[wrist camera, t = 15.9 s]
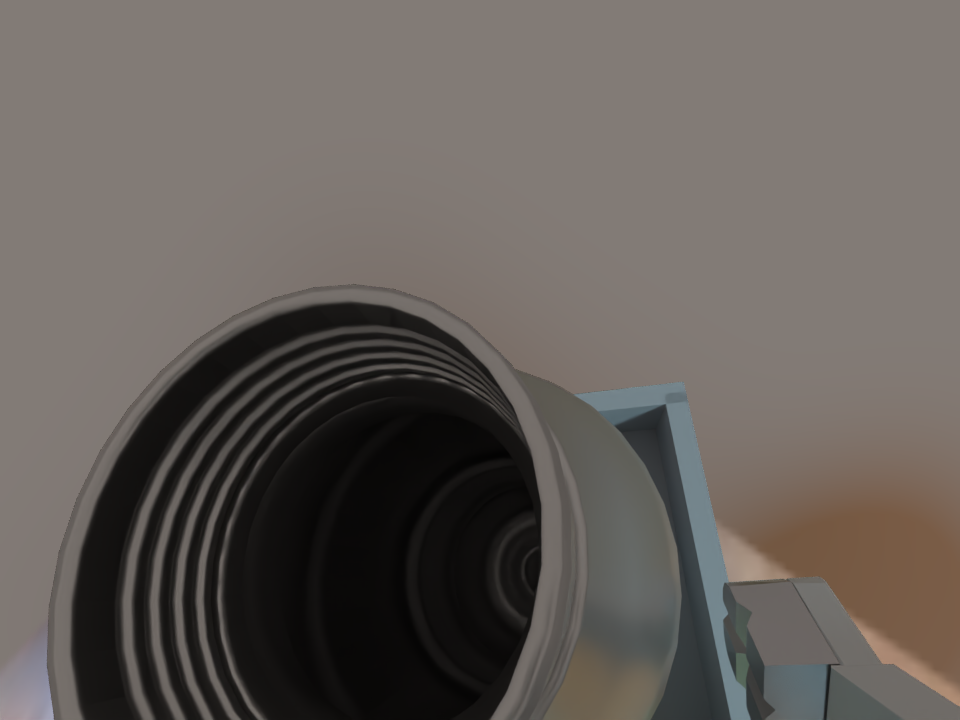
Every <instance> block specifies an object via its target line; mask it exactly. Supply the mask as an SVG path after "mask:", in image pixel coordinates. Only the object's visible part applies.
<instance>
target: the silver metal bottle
mask: <svg viewBox="0 0 960 720" xmlns="http://www.w3.org/2000/svg"><path fill="white" fill-rule="evenodd" d="M681 598H682V594H681V584H680V574H679V564H678V553H677V546H676V543H675V539H674V536H673V532H672V529H671V525H670V522H669V518H668V515H667V511H666V508H665V504H664V502H663V500H662V498H661V496H660V494H659V492H658V490H657V488H656V486H655V484H654V482H653V480H652V478H651V476H650V474H649V472H648V470H647V468H646V466H645V464H644V463H643V461H642V460H641V459H640V457H639V456H638V455H637V453H636V452H635V451H634V449H633V448H632V447H631V445H630V444H629V443H628V441H627V440H626V439H625V437H624V436H623V435H622V433H621V432H620V431H619V430H618V429H617V428H616V427H614V426H613V425H612V424H611V423H610V422H609V421H608V420H607V419H606V418H605V417H603V416H602V415H601V414H600V413H599V412H598V411H597V410H596V409H595V408H594V407H592V406H591V405H590V404H588V403H586V402H585V401H583V400H581V399H580V398H578V397H576V396H575V395H573V394H571V393H570V392H568V391H566V390H565V389H563V388H562V387H560V386H558V385H556V384H554V383H551V382H549V381H547V380H544V379H541V378H538V377H535V376H533V375H530V374H527V373H525V372H522V371H519V370H516V369H514V367H513V366H512V364H511V363H510V362H509V361H508V360H507V359H505V358H504V356H503V355H502V354H501V353H500V352H499V351H498V350H497V349H495V348H494V347H493V346H492V345H491V344H490V343H489V342H488V341H487V340H486V339H485V338H484V337H483V336H482V335H481V334H480V333H479V332H478V331H477V330H475V329H474V328H473V327H472V326H471V325H470V324H469V323H467V322H465V321H464V320H462V319H460V318H459V317H457V316H455V315H454V314H452V313H450V312H449V311H447V310H445V309H444V308H442V307H440V306H439V305H437V304H435V303H434V302H431V301H428V300H425V299H422V298H419V297H416V296H413V295H410V294H407V293H404V292H402V291H399V290H396V289H390V288H381V287H372V286H364V285H356V284H352V285H338V286H327V287H313V288H310V289H306V290H302V291H298V292H295V293H291V294H287V295H283V296H279V297H275V298H272V299H270V300H268V301H265V302H263V303H261V304H259V305H257V306H254V307H252V308H250V309H248V310H245V311H243V312H241V313H239V314H237V315H234V316H233V317H231V318H230V319H228V320H226V321H225V322H223V323H222V324H220V325H219V326H217V327H216V328H214V329H213V330H211V331H210V332H208V333H206V334H205V335H203V336H202V337H200V338H199V339H197V340H196V341H195V342H194V343H192V344H191V345H190V346H189V347H188V348H187V349H186V350H184V351H183V352H182V353H181V354H180V355H179V356H178V357H177V358H175V359H174V360H173V361H172V362H171V363H169V364H168V365H167V366H166V367H165V368H164V369H163V370H162V371H160V373H159V374H158V375H157V376H156V377H155V378H154V379H153V381H152V382H151V383H150V384H149V385H148V386H147V387H146V389H145V390H144V391H143V392H142V393H141V395H140V396H139V397H138V398H137V399H136V400H135V401H134V402H133V404H132V405H131V406H130V407H129V408H128V410H127V411H126V413H125V414H124V416H123V417H122V419H121V420H120V422H119V423H118V425H117V426H116V428H115V429H114V431H113V432H112V434H111V436H110V437H109V438H108V440H107V441H106V443H105V444H104V446H103V447H102V449H101V450H100V452H99V455H98V456H97V458H96V460H95V463H94V465H93V467H92V469H91V471H90V473H89V475H88V477H87V479H86V481H85V483H84V485H83V487H82V489H81V491H80V493H79V496H78V497H77V500H76V502H75V505H74V509H73V511H72V515H71V518H70V520H69V523H68V527H67V530H66V532H65V535H64V538H63V542H62V545H61V548H60V550H59V556H58V561H57V566H56V571H55V577H54V582H53V588H52V593H51V599H50V604H49V619H48V650H47V669H48V676H49V684H50V691H51V698H52V706H53V713H54V720H651V718H652V716H653V715H654V713H655V711H656V709H657V707H658V705H659V703H660V701H661V699H662V697H663V695H664V691H665V688H666V684H667V681H668V677H669V674H670V670H671V667H672V663H673V660H674V656H675V653H676V649H677V644H678V633H679V621H680V610H681Z"/></svg>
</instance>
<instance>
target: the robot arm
mask: <svg viewBox="0 0 960 720" xmlns="http://www.w3.org/2000/svg"><path fill="white" fill-rule="evenodd" d="M723 602H724V604H725V607H726V609H727V612H728V615H727V616H726V617H725V618H724V619H723V628H724V638H725V644H726V650H727V654H728V658H729V661H730V664H731V667H732V670H733V673H734V676H735V678H736V681H737V682H738V683H740V684H741V685H742V686H743V687H744V688H745V689H746V708H747V710H748V713H749V716H750V718H751V720H960V707H959V706H957V705H956V704H954V703H953V702H951V701H949V700H948V699H946V698H945V697H943V696H942V695H940V694H939V693H937V692H936V691H934V690H933V689H931V688H929V687H928V686H926V685H925V684H923V683H922V682H920V681H919V680H917V679H916V678H914V677H912V676H911V675H909V674H908V673H906V672H905V671H903V670H902V669H900V668H899V667H897V666H895V665H894V664H882V663H881V661H880V660H879V659H878V657H877V656H876V654H875V653H874V651H873V650H872V648H871V647H870V645H869V644H868V642H867V641H866V639H865V638H864V637H863V635H862V634H861V632H860V631H859V629H858V628H857V626H856V625H855V623H854V622H853V620H852V619H851V617H850V616H849V615H848V613H847V612H846V610H845V609H844V607H843V606H842V604H841V603H840V601H839V600H838V598H837V597H836V596H835V594H834V593H833V591H832V590H831V588H830V587H829V585H828V584H827V582H826V581H824V580H823V579H822V578H820V577H806V578H790V579H786V580H785V579H774V580H759V581H743V582H728V583H724V586H723Z"/></svg>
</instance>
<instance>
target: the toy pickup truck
mask: <svg viewBox="0 0 960 720" xmlns="http://www.w3.org/2000/svg"><path fill="white" fill-rule="evenodd" d="M573 395H575V396H576V397H578V398H580V399H581V400H583V401H585V402H586V403H588V404H590V405H591V406H592V407H594V408H595V409H596V410H597V411H598V412H599V413H600V414H601V415H602V416H603V417H605V418H606V419H607V420H608V421H609V422H610V423H611V424H612V425H613V426H614V427H616V428H617V429H618V430H619V431H620V432H621V433H622V435H623V436H624V437H625V439H626V440H627V441H628V443H629V444H630V445H631V447H632V448H633V449H634V451H635V452H636V453H637V455H638V456H639V457H640V459H641V460H642V461H643V463H644V464H645V466H646V468H647V470H648V472H649V474H650V476H651V478H652V480H653V482H654V484H655V486H656V488H657V490H658V492H659V494H660V496H661V498H662V500H663V502H664V504H665V508H666V511H667V515H668V518H669V522H670V525H671V529H672V532H673V536H674V539H675V543H676V546H677V553H678V564H679V574H680V584H681V594H682V598H681V610H680V621H679V633H678V644H677V649H676V653H675V656H674V660H673V663H672V667H671V670H670V674H669V677H668V681H667V684H666V688H665V691H664V695H663V697H662V699H661V701H660V703H659V705H658V707H657V709H656V711H655V713H654V715H653V716H652V718H651V720H751V718H750V716H749V713H748V710H747V708H746V689H745V688H744V687H743V686H742V685H741V684H740V683H738V682H737V681H736V678H735V676H734V673H733V670H732V667H731V664H730V661H729V658H728V654H727V650H726V644H725V638H724V628H723V619H724V618H725V617H726V616H727V615H728V612H727V609H726V607H725V604H724V602H723V586H724V583H728V577H727V573H726V568H725V564H724V559H723V555H722V551H721V546H720V542H719V537H718V533H717V528H716V524H715V519H714V515H713V511H712V506H711V502H710V497H709V493H708V488H707V484H706V480H705V475H704V471H703V466H702V462H701V458H700V453H699V449H698V444H697V440H696V435H695V431H694V426H693V422H692V417H691V413H690V409H689V404H688V400H687V395H686V391H685V386H684V382H678V383H669V384H660V385H651V386H642V387H633V388H626V389H616V390H607V391H599V392H589V393H581V394H573Z"/></svg>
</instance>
